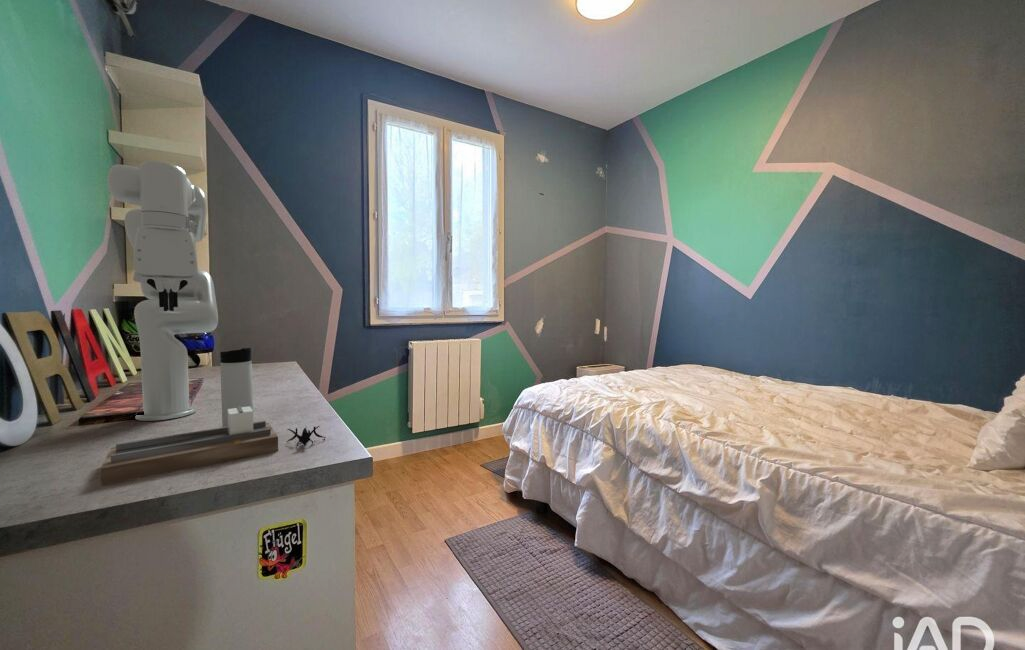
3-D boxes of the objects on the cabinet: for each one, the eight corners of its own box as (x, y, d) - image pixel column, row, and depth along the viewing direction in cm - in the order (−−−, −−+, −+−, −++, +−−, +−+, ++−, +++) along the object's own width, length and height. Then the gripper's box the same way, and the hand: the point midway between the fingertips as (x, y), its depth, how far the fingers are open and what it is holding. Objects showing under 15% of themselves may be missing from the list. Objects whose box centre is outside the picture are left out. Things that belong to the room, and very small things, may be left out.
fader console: (111, 463, 76) (110, 441, 76) (269, 435, 93) (268, 417, 92) (101, 485, 67) (100, 461, 67) (278, 450, 83) (277, 430, 83)
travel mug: (239, 434, 94) (236, 349, 92) (215, 431, 95) (213, 348, 94) (260, 426, 100) (258, 346, 99) (238, 424, 101) (236, 345, 100)
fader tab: (228, 432, 85) (227, 407, 84) (250, 428, 87) (249, 405, 87) (230, 438, 81) (229, 413, 81) (253, 434, 83) (252, 409, 83)
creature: (288, 445, 90) (282, 450, 82) (288, 421, 91) (282, 423, 83) (326, 441, 93) (323, 445, 85) (326, 418, 93) (323, 419, 86)
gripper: (209, 230, 92) (211, 310, 93) (118, 221, 82) (122, 310, 83) (210, 226, 86) (213, 311, 87) (113, 216, 76) (117, 311, 77)
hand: (168, 310), depth 85 cm, fingers closed
